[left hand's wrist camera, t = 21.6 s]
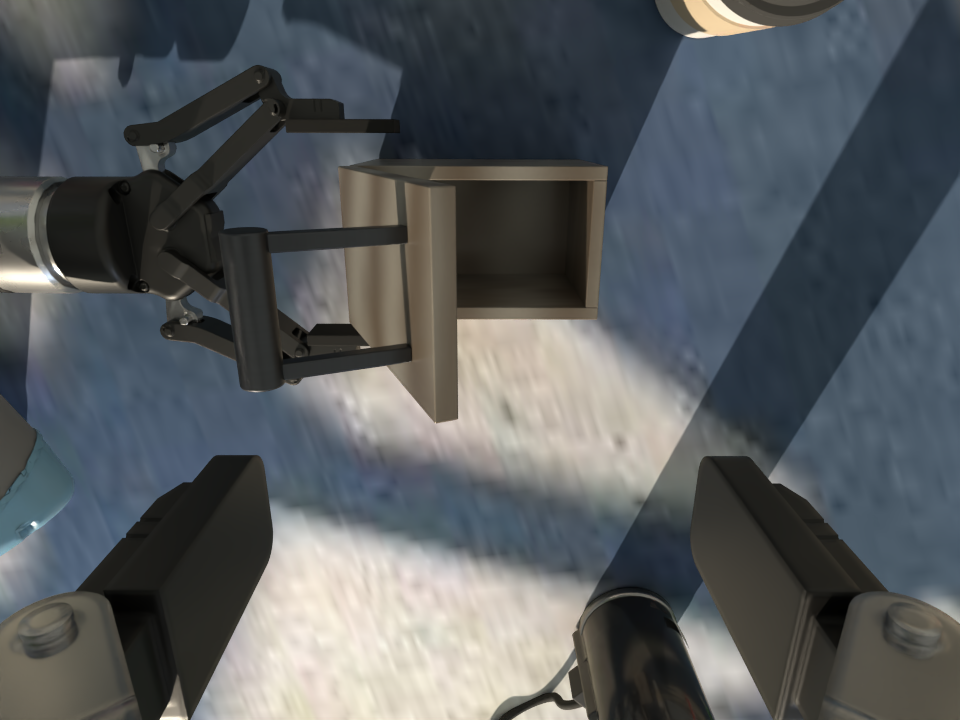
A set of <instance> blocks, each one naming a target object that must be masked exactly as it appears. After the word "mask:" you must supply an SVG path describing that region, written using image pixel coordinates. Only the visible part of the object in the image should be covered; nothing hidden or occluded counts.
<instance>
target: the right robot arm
mask: <svg viewBox="0 0 960 720" xmlns="http://www.w3.org/2000/svg"><path fill="white" fill-rule="evenodd" d="M259 99H261V100H262V102H263V105H262V106H261V107H260V108H259V109H258V110H257V111H256V112H255V113H254V114H253V115H252V116H251V117H250V118H249V119H248V120H247V121H246V122H245V123H244V124H243V125H242V126H241V127H240V128H239V129H238V130H237V131H236V132H235V133H234V134H233V135H232V136H231V137H230V138H229V139H228V140H227V141H226V142H225V143H224V144H223V145H222V146H221V147H220V148H219V149H218V150H217V151H216V152H215V153H214V154H213V155H212V156H211V157H210V158H209V159H208V160H207V161H206V162H205V164H204V165H203V166H202V167H201V168H200V169H198V170H197V171H196V172H194V173H192V174H191V175H190V176H189V177H188V178H187V179H186V180H185V181H184V180H183V179H181V178H180V177H178V176H177V175H175V174H174V173H172V172H171V171H169V170H166V169H165V161H166V160H167V159H168V158H169V157H171V156H173V155H174V154H175V152H176V149H177V147H176V144H175V143H179V142H183V141H186V140H189V139H191V138H193V137H195V136H196V135H198V134H200V133H202V132H203V131H205V130H207V129H209V128H210V127H212V126H214V125H216V124H217V123H219V122H221V121H223V120H224V119H226V118H228V117H229V116H231V115H233V114H235V113H236V112H238V111H240V110H242V109H243V108H245V107H247V106H249V105H250V104H252V103H254V102H256V101H257V100H259ZM285 125H286V133H400V123H399V120H394V119H344V104H343V103H341V102H339V101H336V100H333V99H292V98H291V97H289V96H288V95H287V93H286V92H285V90H284V87H283V85H282V79H281V76H280V74H279V73H278V72H277V71H276V70H274V69H271V68H267V67H264V66H261V65H255V66H253V67H251V68H249V69H248V70H246V71H244V72H242V73H241V74H239V75H237V76H236V77H234V78H232V79H230V80H229V81H227V82H225V83H224V84H222V85H220V86H218V87H217V88H215V89H213V90H212V91H210V92H208V93H206V94H205V95H203V96H201V97H200V98H198V99H196V100H194V101H193V102H191V103H189V104H188V105H186V106H184V107H182V108H181V109H179V110H177V111H176V112H174V113H172V114H170V115H169V116H167V117H165V118H164V119H162V120H160V121H158V122H153V123H145V124H137V125H130V126H127V127H126V128H125V130H124V138H125V140H126V141H127V142H128V143H129V144H130V145H132V146H136V148H137V152H138V155H139V159H140V162H141V166H142V169H143V172H141V173H140V174H138V175H137V176H134V177H72V178H69V179H67V178H64V177H0V292H8V293H79V292H87V293H151V294H155V295H158V296H160V297H162V298H164V299H166V309H167V323H165V324H163V325H162V326H161V328H160V332H161V335H162V336H163V337H164V338H165V339H168V340H173V341H183V342H192V343H196V344H199V345H201V346H203V347H205V348H208V349H210V350H212V351H214V352H217V353H219V354H221V355H224V356H226V357H228V358H230V359H233V360H235V361H236V354H235V347H234V340H233V333H232V326H231V325H230V324H227V323H225V322H223V321H221V320H218V319H216V318H212V317H209V316H203V312H202V310H201V309H198V308H196V307H193V306H191V305H190V304H189V303H188V301H187V298H186V296H188V295H190V294H191V293H193V292H194V291H196V292H197V293H199V294H200V295H202V296H203V297H204V298H206V299H207V300H209V301H211V302H214V303H218V304H220V305H221V306H222V307H224V308H225V309H227V310H228V311H229V305H228V298H227V291H226V285H225V278H224V271H223V264H222V257H221V250H220V243H219V236H218V233H219V231H221V230H224V215H223V211H220V210H219V208H218V206H217V205H216V203H215V202H214V201H213V199H214V198H215V197H216V196H217V195H218V194H219V193H220V192H221V191H222V190H223V189H224V188H225V187H226V186H227V183H228V182H229V181H230V180H231V179H232V178H233V177H234V176H235V175H236V174H237V173H238V172H239V171H240V170H241V169H242V168H243V167H244V166H245V165H246V164H247V163H248V162H249V161H250V160H251V159H252V158H253V157H254V156H255V155H256V154H257V153H258V152H259V151H260V150H261V149H262V148H263V147H264V146H265V145H266V144H267V143H268V142H269V141H270V140H271V139H272V138H273V137H274V136H275V135H276V134H277V133H278V132H279V131H280V130H281V129H282V128H283V127H284V126H285ZM277 311H278V320H279V329H280V337H281V346H282V355H283V359H291V358H298V357H306V356H313V355H321V354H328V353H336V352H343V351H351V350H358V349H360V346H369V344H368V343H367V342H366V341H365V340H364V338H363V337H362V336H361V335H360V334H359V333H358V331H357V330H356V329H355V328H354V327H353V325H352V324H316V325H315V327H314V328H313V329H312V330H311V331H310V332H308V331H306V330H305V329H304V328H302V327H301V326H300V325H298V324H297V323H296V322H294V321H293V320H292V319H290V318H289V317H288V316H286V315H285V314H284V313H282V312H281V311H280V310H278V309H277ZM302 379H303V378H297V379H290V380H285V383H287V384H290V385H297V384H299V382H300V381H301V380H302ZM74 488H75V484H74V479H73V477H72V475H71V474H70V473H69V472H68V470H67V469H66V468H65V466H64V465H63V464H62V463H61V461H60V460H59V459H58V458H57V456H56V455H55V454H54V452H53V451H52V450H51V449H50V447H49V446H48V445H47V444H46V442H45V441H44V440H43V437H42V435H41V434H40V432H39V431H38V430H36V429H35V428H32V427H31V426H30V425H29V424H28V423H27V422H26V421H25V420H24V418H23V417H22V416H21V415H20V414H19V413H18V412H17V411H16V410H15V409H14V408H13V407H12V406H11V405H10V404H9V403H8V402H7V401H6V399H5V398H4V397H3V396H2V395H1V394H0V556H1V555H3V554H4V553H6V552H7V551H9V550H10V549H12V548H13V547H15V546H16V545H18V544H19V543H20V542H22V541H23V540H24V539H25V538H26V537H27V536H29V535H30V534H31V533H33V532H34V531H36V530H37V529H39V528H40V527H42V526H43V525H44V524H46V523H47V522H48V521H49V520H50V519H52V518H53V517H54V516H55V515H56V514H57V513H58V512H59V511H61V510H62V509H63V507H64V506H65V505H66V504H67V503H68V502H69V500H70V499H71V497H72V495H73V493H74Z"/></svg>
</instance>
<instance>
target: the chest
mask: <svg viewBox="0 0 960 720" xmlns="http://www.w3.org/2000/svg"><path fill="white" fill-rule="evenodd" d="M350 166H358V167H363V168H368V169H373V170H378V171H383V172H388V173H393V174H398V175H403V176H408V177H414V178H419V179H424V180H429V181H434V182H439V183H444V184H449V185H454V186H455V187H456V273H457V319H594V320H596V319H597V314H598V300H599V286H600V272H601V258H602V244H603V230H604V216H605V203H606V189H607V181H606V180H607V175H608V166H604V165H600V164H596V163H592V162H588V161H584V160H566V159H375V160H371V161H367V162H363V163H359V164H354V165H350Z"/></svg>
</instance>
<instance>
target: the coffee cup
mask: <svg viewBox="0 0 960 720" xmlns="http://www.w3.org/2000/svg"><path fill="white" fill-rule="evenodd" d="M842 1H844V0H655V2H656V5H657V8H658V11H659V13H660V15H661V16H662V18H663V19H664V21H665V22H666V23H667V24H668V25H669V26H670V27H671V28H672V29H673V30H675V31H676V32H678V33H680V34H682V35H684V36H688V37H692V38H706V37H711V36H725V35H732V34H738V33H744V32H749V31H755V30H761V29H766V28H772V27H776V26H790V25H795V24H799V23H803V22H806V21H809V20H811V19H813V18H816V17H818V16H820V15H821V14H823V13H825V12H827V11H828V10H829V9H831V8H833V7H834V6H836V5H838V4H839V3H841V2H842Z"/></svg>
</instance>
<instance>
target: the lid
mask: <svg viewBox="0 0 960 720" xmlns="http://www.w3.org/2000/svg"><path fill="white" fill-rule="evenodd" d="M338 171H339V184H340V198H341V211H342V225H343V228H329V229H311V230H293V231H275V232H268V230H267V229H264V228H258V227H241V228H230V229H225V230H221V231H219V233H218V236H219V243H220V250H221V257H222V264H223V271H224V278H225V285H226V291H227V298H228V305H229V312H230V319H231V326H232V333H233V340H234V347H235V354H236V361H237V368H238V375H239V382H240V387H241V388H242V389H243V390H245V391H248V392H265V391H270V390H274V389H277V388H279V387H281V386H282V385H283V384H284V383H285V380H290V379H297V378H304V377H311V376H318V375H325V374H332V373H339V372H345V371H352V370H359V369H366V368H373V367H380V366H387V367H388V368H389V369H390V370H391V372H392V373H393V374H394V375H395V376H396V378H397V379H398V380H399V381H400V382H401V383H402V385H403V386H404V387H405V388H406V389H407V391H408V392H409V393H410V394H411V395H412V396H413V398H414V399H415V400H416V401H417V402H418V404H419V405H420V406H421V407H422V408H423V409H424V411H425V412H426V413H427V414H428V415H429V417H430V418H431V419H432V420H433V421H434V423H441V422H446V421H451V420H457V419H458V369H457V273H456V187H455V186H454V185H449V184H444V183H439V182H434V181H429V180H424V179H419V178H414V177H408V176H403V175H398V174H393V173H388V172H383V171H378V170H373V169H368V168H363V167H358V166H339V167H338ZM339 248H344V252H345V266H346V279H347V293H348V306H349V320H350V323H351V324H352V325H353V327H354V328H355V329H356V330H357V331H358V333H359V334H360V335H361V336H362V337H363V338H364V340H365V341H366V342H367V343H368V344H369V346H370V347H371V348H366V349H358V350H351V351H343V352H336V353H328V354H321V355H313V356H306V357H298V358H291V359H283V355H282V346H281V337H280V329H279V320H278V311H277V303H276V294H275V285H274V277H273V268H272V259H271V253H280V252H295V251H309V250H324V249H339Z"/></svg>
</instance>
